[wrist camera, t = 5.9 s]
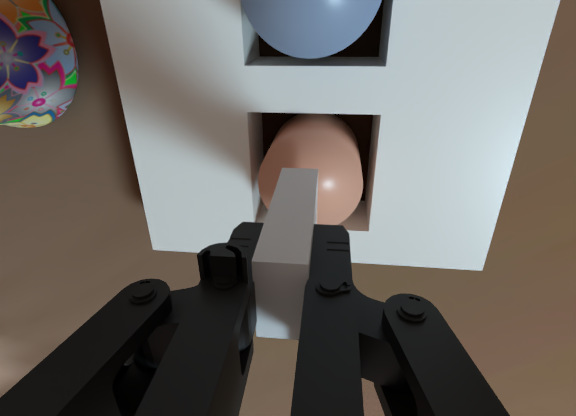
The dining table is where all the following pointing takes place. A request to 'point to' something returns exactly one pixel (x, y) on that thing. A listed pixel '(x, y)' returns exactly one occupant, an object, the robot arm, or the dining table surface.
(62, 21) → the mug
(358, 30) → the slate button
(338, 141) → the terracotta button
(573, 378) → the dining table surface
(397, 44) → the panel
